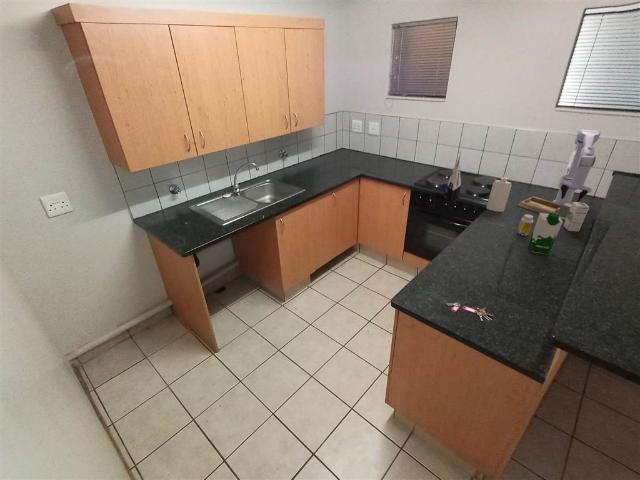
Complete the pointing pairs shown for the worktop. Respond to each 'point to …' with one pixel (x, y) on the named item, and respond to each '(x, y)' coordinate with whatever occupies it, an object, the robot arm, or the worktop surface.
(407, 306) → the worktop surface
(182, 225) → the worktop surface
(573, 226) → the syrup box
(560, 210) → the box
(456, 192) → the model sailboat
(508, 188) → the squeeze bottle
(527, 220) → the supplement bottle
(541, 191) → the worktop surface
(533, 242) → the milk carton
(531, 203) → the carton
